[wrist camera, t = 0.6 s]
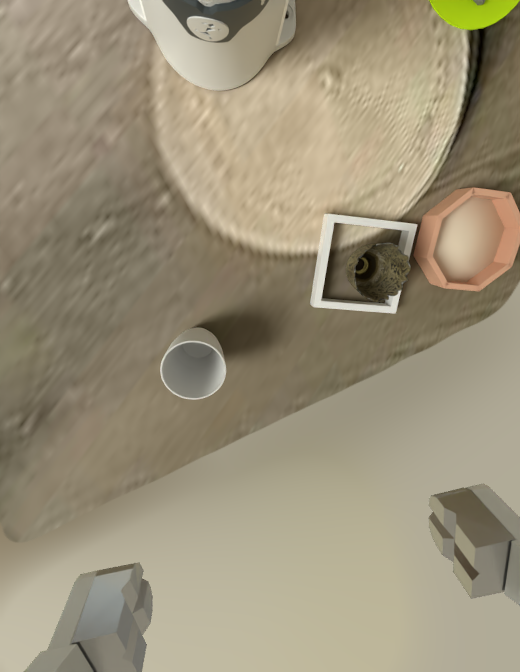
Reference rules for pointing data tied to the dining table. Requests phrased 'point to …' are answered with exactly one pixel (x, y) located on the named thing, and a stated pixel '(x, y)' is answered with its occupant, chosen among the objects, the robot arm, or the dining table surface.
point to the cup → (194, 365)
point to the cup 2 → (378, 271)
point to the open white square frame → (323, 255)
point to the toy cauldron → (472, 12)
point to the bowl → (469, 239)
